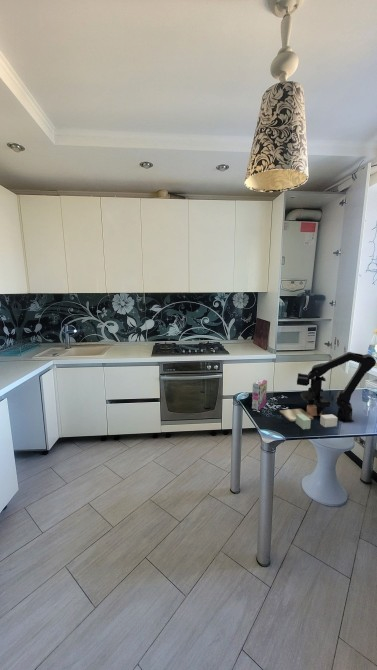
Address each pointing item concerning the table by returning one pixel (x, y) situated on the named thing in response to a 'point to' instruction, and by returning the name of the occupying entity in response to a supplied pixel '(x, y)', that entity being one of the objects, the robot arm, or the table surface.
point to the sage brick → (303, 421)
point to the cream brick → (328, 420)
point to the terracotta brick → (312, 410)
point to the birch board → (294, 414)
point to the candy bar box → (259, 394)
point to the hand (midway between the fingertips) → (314, 412)
